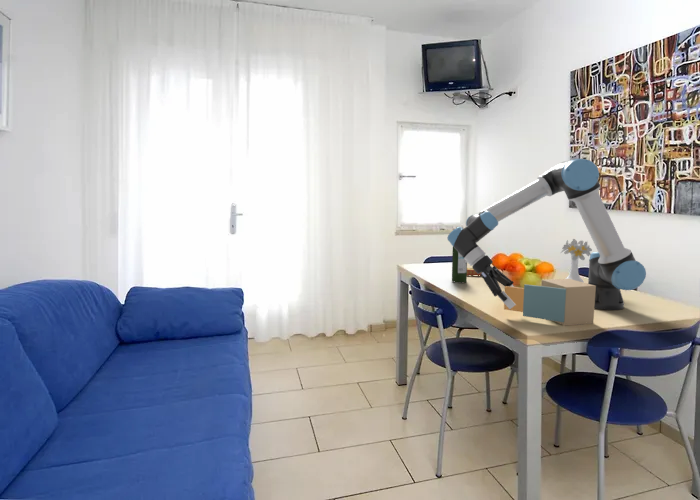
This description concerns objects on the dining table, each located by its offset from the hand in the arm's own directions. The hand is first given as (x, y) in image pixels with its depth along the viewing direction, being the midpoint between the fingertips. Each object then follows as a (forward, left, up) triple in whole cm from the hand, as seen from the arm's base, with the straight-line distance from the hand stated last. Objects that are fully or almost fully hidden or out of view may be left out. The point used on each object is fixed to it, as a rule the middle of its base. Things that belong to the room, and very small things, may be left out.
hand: (517, 303), depth 160 cm
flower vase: (-39, -55, -6) cm, 68 cm away
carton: (+2, -91, -7) cm, 92 cm away
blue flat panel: (-5, +2, -5) cm, 7 cm away
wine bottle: (+15, -70, -6) cm, 72 cm away
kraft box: (-18, -2, -6) cm, 19 cm away
